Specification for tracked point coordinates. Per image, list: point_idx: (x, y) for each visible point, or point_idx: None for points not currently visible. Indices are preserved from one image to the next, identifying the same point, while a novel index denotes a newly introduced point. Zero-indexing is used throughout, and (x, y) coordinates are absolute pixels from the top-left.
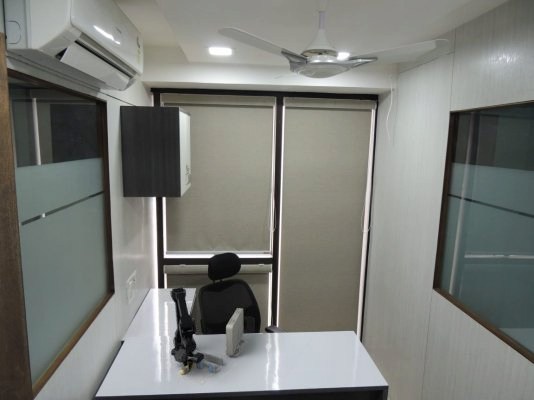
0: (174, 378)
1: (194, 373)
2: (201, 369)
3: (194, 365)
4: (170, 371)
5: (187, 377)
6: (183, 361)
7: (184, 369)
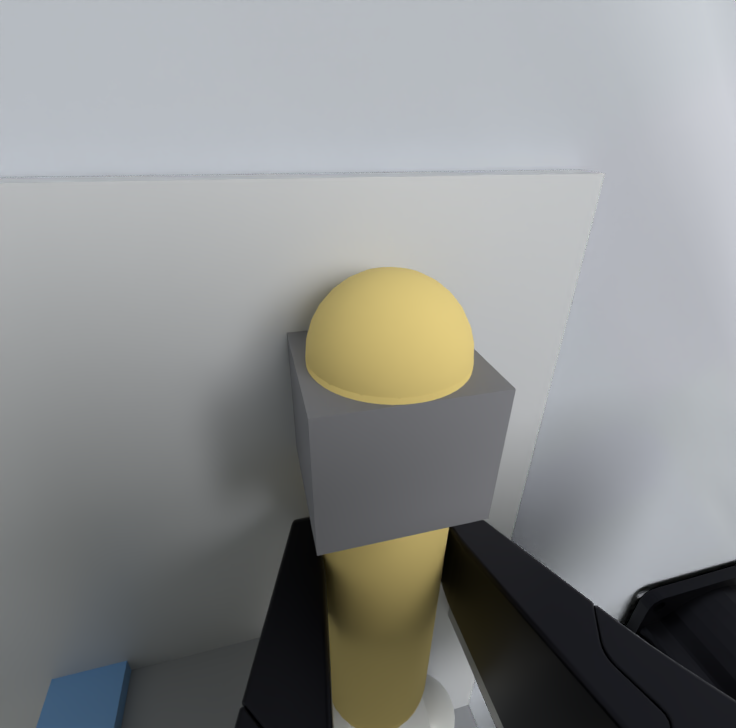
0: (488, 19)
1: (61, 518)
2: (70, 673)
3: None
4: (717, 247)
5: (54, 269)
6: (624, 721)
7: (355, 452)
